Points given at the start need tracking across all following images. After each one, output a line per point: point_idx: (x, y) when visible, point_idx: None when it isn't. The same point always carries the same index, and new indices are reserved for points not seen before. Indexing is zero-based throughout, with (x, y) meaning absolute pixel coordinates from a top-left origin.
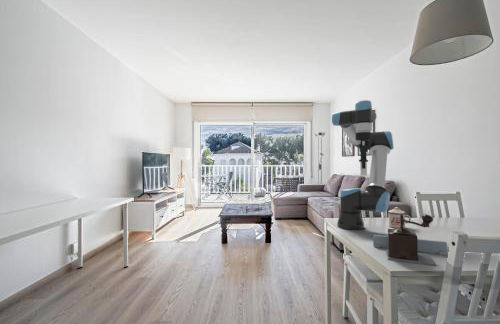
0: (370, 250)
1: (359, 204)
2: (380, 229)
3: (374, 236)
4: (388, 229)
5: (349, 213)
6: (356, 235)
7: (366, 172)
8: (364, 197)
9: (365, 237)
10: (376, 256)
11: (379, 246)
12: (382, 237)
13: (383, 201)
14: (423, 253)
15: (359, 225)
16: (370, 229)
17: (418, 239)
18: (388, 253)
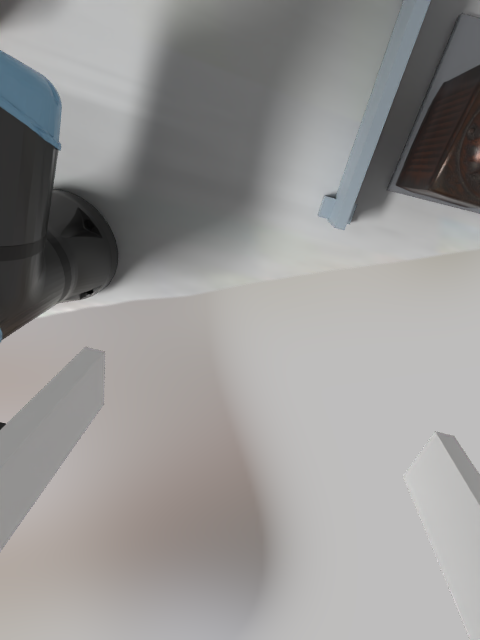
0: (383, 245)
1: (42, 246)
2: (62, 113)
3: (345, 225)
4: (447, 194)
5: (69, 277)
6: (200, 250)
7: (475, 473)
8: (6, 226)
9: (222, 222)
10: (446, 242)
11: (355, 206)
12: (355, 194)
13: (38, 90)
14: (452, 41)
15: (95, 221)
16: (81, 166)
17: (415, 23)
18: (456, 203)
